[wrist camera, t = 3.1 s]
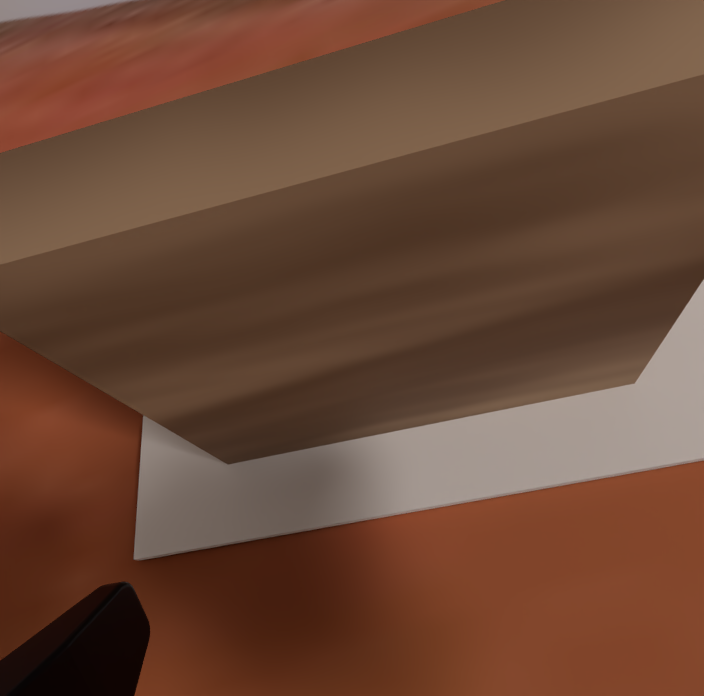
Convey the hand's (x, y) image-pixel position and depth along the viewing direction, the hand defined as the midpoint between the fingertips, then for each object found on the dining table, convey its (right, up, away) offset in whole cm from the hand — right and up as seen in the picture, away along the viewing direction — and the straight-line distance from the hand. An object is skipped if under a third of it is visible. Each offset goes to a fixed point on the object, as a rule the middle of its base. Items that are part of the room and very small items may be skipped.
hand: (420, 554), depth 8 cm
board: (+1, +2, +8) cm, 8 cm away
